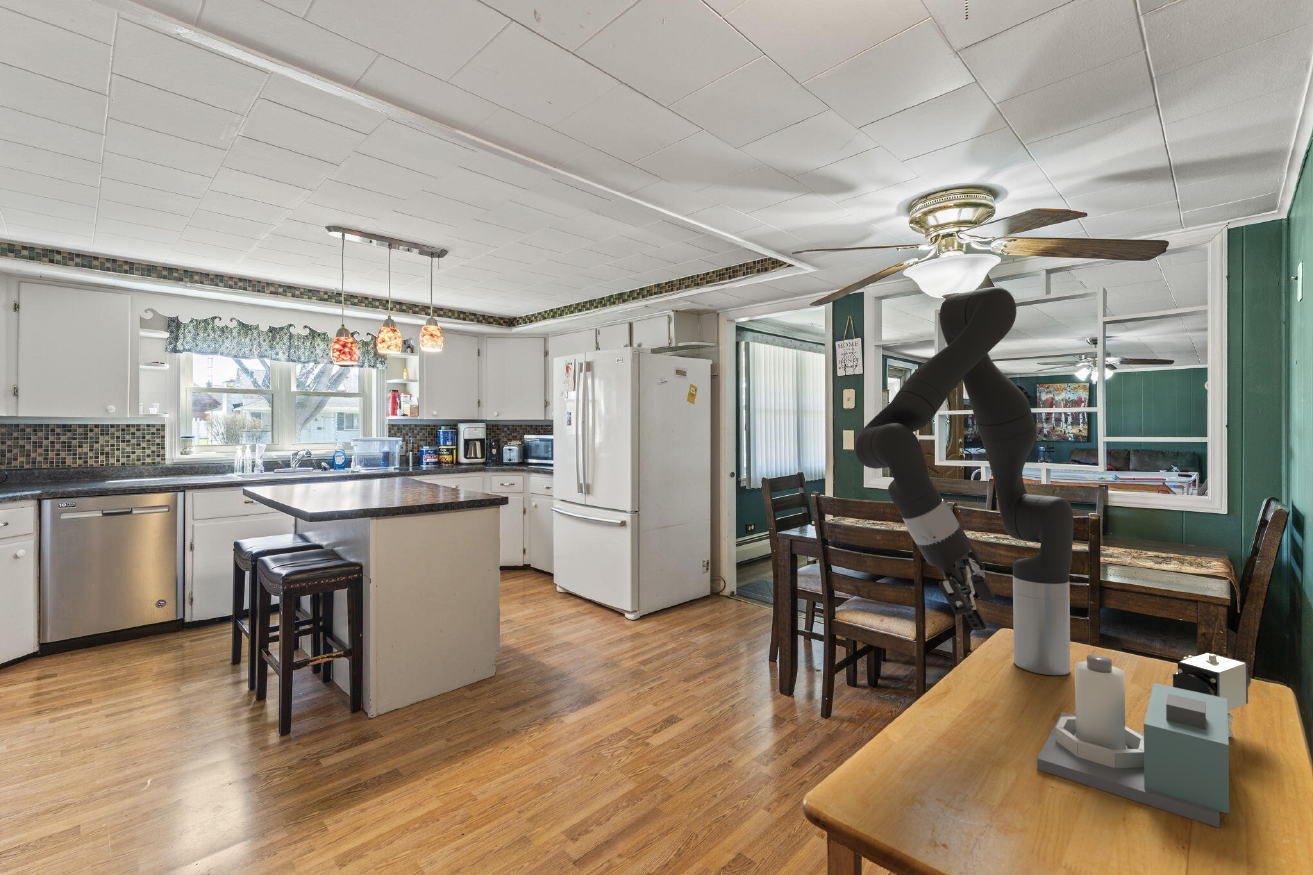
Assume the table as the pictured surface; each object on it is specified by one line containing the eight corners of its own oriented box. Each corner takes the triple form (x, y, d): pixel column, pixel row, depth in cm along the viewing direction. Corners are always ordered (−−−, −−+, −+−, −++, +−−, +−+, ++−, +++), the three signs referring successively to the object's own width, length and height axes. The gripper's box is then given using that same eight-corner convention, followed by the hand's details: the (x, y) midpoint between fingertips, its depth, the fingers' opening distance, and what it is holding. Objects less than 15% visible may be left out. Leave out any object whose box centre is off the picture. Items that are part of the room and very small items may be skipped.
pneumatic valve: (1253, 732, 90) (1252, 653, 90) (1212, 751, 85) (1211, 667, 85) (1206, 717, 95) (1206, 642, 95) (1166, 733, 90) (1165, 654, 90)
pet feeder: (1062, 719, 94) (1062, 647, 94) (1227, 763, 82) (1226, 679, 81) (1037, 769, 81) (1036, 684, 81) (1229, 831, 68) (1228, 730, 68)
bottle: (1078, 732, 88) (1076, 647, 88) (1129, 746, 84) (1128, 657, 83) (1070, 748, 83) (1069, 659, 83) (1124, 764, 79) (1123, 670, 79)
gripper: (949, 546, 91) (1003, 636, 91) (965, 505, 102) (1013, 585, 102) (904, 558, 96) (955, 643, 96) (924, 517, 107) (969, 594, 107)
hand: (985, 613), depth 99 cm, fingers open, 8 cm apart
